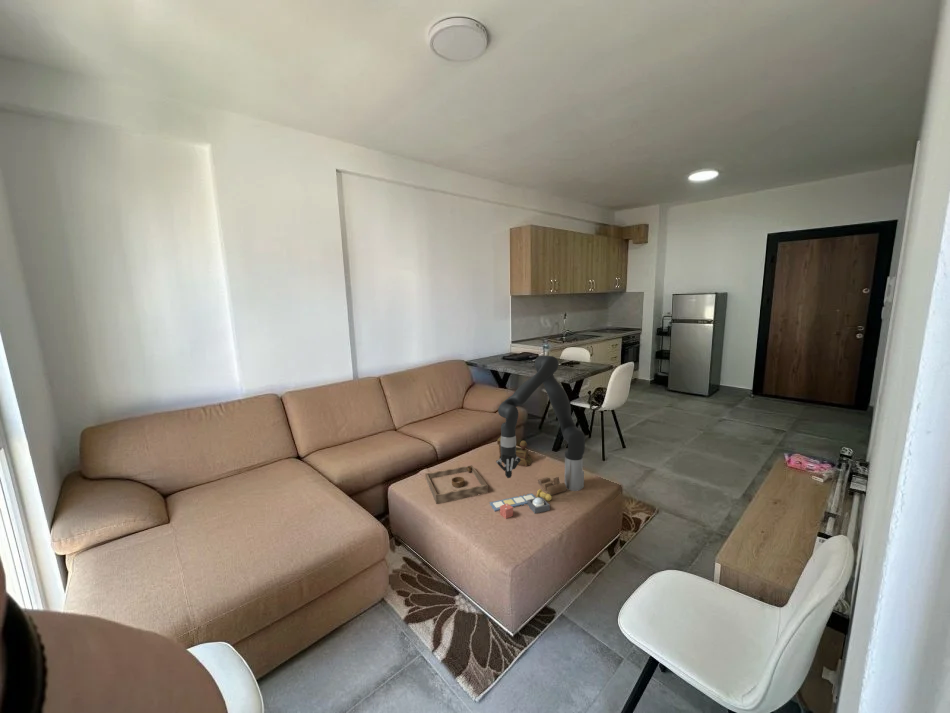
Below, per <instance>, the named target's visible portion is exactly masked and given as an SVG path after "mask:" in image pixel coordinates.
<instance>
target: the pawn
mask: <svg viewBox="0 0 950 713" xmlns="http://www.w3.org/2000/svg"><path fill="white" fill-rule="evenodd" d="M536 492H537V493H536V498H539V497H542V498H543V499H544V500H545V501H546V502H550V501H551V500H552V495H550V494H548V493H547V492H544V491H543V490H542V489H541V488H539V489H538V490H537V491H536Z"/></svg>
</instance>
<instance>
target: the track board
mask: <svg viewBox="0 0 950 713" xmlns="http://www.w3.org/2000/svg"><path fill="white" fill-rule="evenodd" d="M525 495H526V494H523V496H522V495H519V497H518V496H513V497H509V498H504V499H499V500H495V501H490V502H489V503H490V504H489V506H490V507H491V506H492V507H491V508H492V510H493V509H494V510H493V511H494V512H500V511H499V510H500V506H502V505H504V504H509V505H510V506H512V507H514V508H517V507H516V506H518V507H521V506H520V505H522V506H525V505H524V504H527V500H530V499H534V498H537V496H535V495H534V494H533V493H531V492H530V493H527V495H526V496H525Z"/></svg>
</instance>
